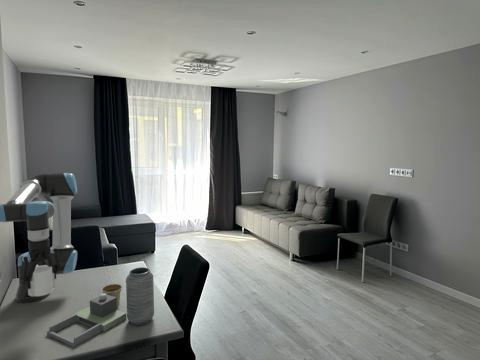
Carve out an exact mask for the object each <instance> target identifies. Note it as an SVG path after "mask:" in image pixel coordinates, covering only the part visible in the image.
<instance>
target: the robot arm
mask: <svg viewBox="0 0 480 360" xmlns="http://www.w3.org/2000/svg"><path fill="white" fill-rule="evenodd" d="M77 194H78V183H77V180H76V176H75V175H74V173H70V172H54V173H53V172H52V173H49V172H48V173H45V172H44V173H38V174H35V175H32V176H31V177H28V178H27V179H25V180H24V181H23V182H22V183H21V184H20V187H19V189H18V190H17V191H16V192H15V194H13V196H11V198H10V199H8V201H7V202H6V203H4V204H3V203H0V223H10V222H11V223H13V222H25V221H26V224H27V225H26V226H27V240H28V243H27V244H28V251H27V252H25V253H22V254H21V255H19V257H18V258H17V272H18V286H17V290H16V293H15V300H16V302H19V303H32V302H36V301H40V300H42V299H44V298H47V297H48V296H49V295H50V294H51V293H49V294H47V295H43V296H34V287H33V280H31V279H32V276H33V272H34V270H35V267H36V265H38V266H43V265H47V266H49V267H51V266H52V276H53V289H55V288H56V283H55V280H56V279H57V275H65V274H70V273H73V272H74V270H75V269H76V266H77V261H78V250H76V249H75V247H74V246H73V245H72V243H71V242H72V241H71V240H72V237H71V233H72V228H71V227H72V219H71V218H72V217H71V216H72V213H71V212H72V200H73V199H74V198H75V195H77ZM45 195H46V196H49V199H50V200H52V202H50V201H48V200H47V201H43V200H35V201H33V200H34V199H35V198H37V197H39V196H45ZM50 218H52V246H51V243H50V242H51V241H50V238H49V237H50V229H49V228H50V227H49V225H50V224H49V223H50V222H49V220H50Z"/></svg>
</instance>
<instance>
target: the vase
mask: <svg viewBox="0 0 480 360" xmlns="http://www.w3.org/2000/svg"><path fill="white" fill-rule="evenodd" d="M150 270H151V269H149V267H146V266H145V267H135V268H133V269H130V270H129V272H128V274H127V276H126V277H125V287H126V289H125V290H126V293H125V294H126V319H127V320H128V321H129V322H130V323H131V324H132V325H134V326H142V325H147V324H149V322H150V321H151V320H152V319H153V317H154V316H155V295H154V294H155V293H154V291H155V290H154V289H155V288H154V287H155V286H154V274H153V273H152V272H151V271H150Z"/></svg>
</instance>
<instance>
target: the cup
mask: <svg viewBox="0 0 480 360" xmlns="http://www.w3.org/2000/svg"><path fill="white" fill-rule="evenodd" d="M31 280H33V287H34V296H43V295H47V294H49V293H50V294H51V293H52V292H53V291H54V288H53V276H52V266H51V267H49V266H47V265H43V266H38V265H36V267H35V270H34V272H33V276H32V279H31ZM50 294H49V295H50Z"/></svg>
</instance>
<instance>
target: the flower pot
mask: <svg viewBox="0 0 480 360" xmlns="http://www.w3.org/2000/svg"><path fill="white" fill-rule="evenodd" d="M122 288H123V285H122V284H119V283H113V284H111V283H110V284H107V285H104V287H102V288H101V292H102V294H103V293H105V294H107V295H110V296H113V297H116V299H117V307H118V306H119V304H120V301H121V292H122Z"/></svg>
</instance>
